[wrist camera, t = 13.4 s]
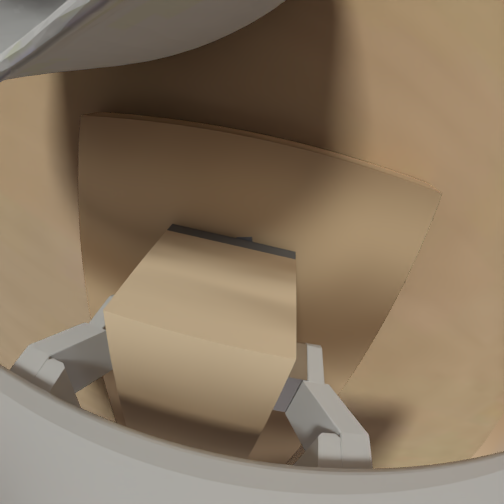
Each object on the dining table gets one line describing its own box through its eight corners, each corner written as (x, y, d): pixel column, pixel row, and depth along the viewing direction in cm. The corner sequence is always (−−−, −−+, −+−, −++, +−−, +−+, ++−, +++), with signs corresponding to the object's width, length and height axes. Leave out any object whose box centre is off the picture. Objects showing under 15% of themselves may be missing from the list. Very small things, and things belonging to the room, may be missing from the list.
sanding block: (172, 223, 10) (103, 310, 6) (295, 251, 10) (295, 358, 6) (165, 365, 13) (132, 447, 9) (252, 386, 13) (238, 475, 9)
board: (99, 112, 9) (79, 115, 8) (428, 183, 9) (442, 194, 8) (129, 437, 21) (125, 448, 20) (270, 471, 21) (268, 483, 20)
